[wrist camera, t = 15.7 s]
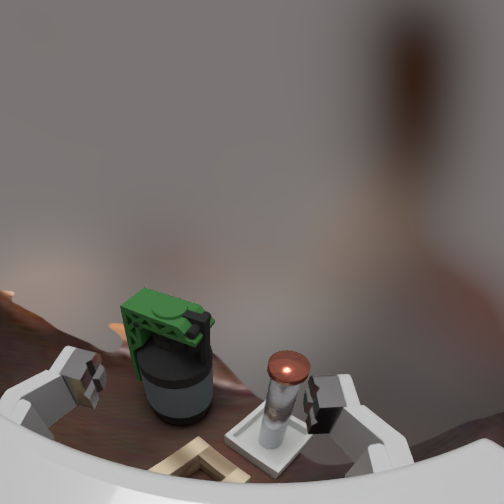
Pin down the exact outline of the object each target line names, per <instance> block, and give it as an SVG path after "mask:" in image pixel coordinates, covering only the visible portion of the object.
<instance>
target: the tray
mask: <svg viewBox="0 0 504 504" xmlns="http://www.w3.org/2000/svg"><path fill="white" fill-rule="evenodd" d="M265 403H266V400H265V401H264V402H263V403H262V404H261V405H260V406H259V407H257V408H256V409H255V410H254V411H253V412H252V413H250V414H249V415H248V416H247V417H246V418H245V419H243V420H242V421H241V422H240V423H239V424H237V425H236V426H235V427H234V428H233V429H231V430H230V431H229V432H228V433H226V434H225V435H224V443H225V444H227V445H228V446H229V447H230V448H232V449H233V450H234V451H236V452H237V453H239V454H240V455H241V456H243V457H244V458H245V459H247V460H248V461H250V462H251V463H253V464H254V465H255V466H257V467H258V468H260V469H261V470H263V471H264V472H266V473H267V474H269V475H270V476H272V477H273V478H275V479H276V478H277V477H278V476H279V475H280V474H281V473H282V472H283V471H284V470H285V469H286V467H287V466H288V465H289V464H290V463H291V462H292V461H293V460H294V459H295V458H296V457H297V455H298V454H299V453H300V452H301V451H302V450H303V449H304V447H305V446H306V445H307V444H308V443H309V442H310V440H311V439H312V438H313V436H314V434H308V432H307V426H306V423H304V422H302V421H301V420H299V419H297V418H296V417H294V416H292V415H291V418H290V421H289V424H288V427H287V430H286V433H285V436H284V438H283V441H282V444H281V445H280V446H279V447H278V448H276V449H266V448H264V447H262V446H261V445H260V444H259V441H258V437H259V433H260V428H261V423H262V418H263V413H264V408H265Z"/></svg>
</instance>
